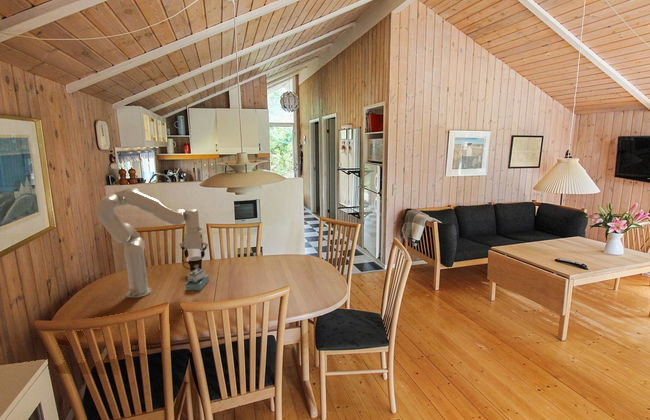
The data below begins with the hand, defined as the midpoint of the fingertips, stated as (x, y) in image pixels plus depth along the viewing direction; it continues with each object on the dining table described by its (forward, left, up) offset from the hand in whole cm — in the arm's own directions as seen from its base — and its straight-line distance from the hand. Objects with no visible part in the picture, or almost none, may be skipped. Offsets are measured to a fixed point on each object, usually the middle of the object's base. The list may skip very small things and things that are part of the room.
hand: (194, 257), depth 217 cm
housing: (0, 0, -14) cm, 14 cm away
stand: (0, 0, -18) cm, 18 cm away
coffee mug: (+20, +10, -18) cm, 29 cm away
